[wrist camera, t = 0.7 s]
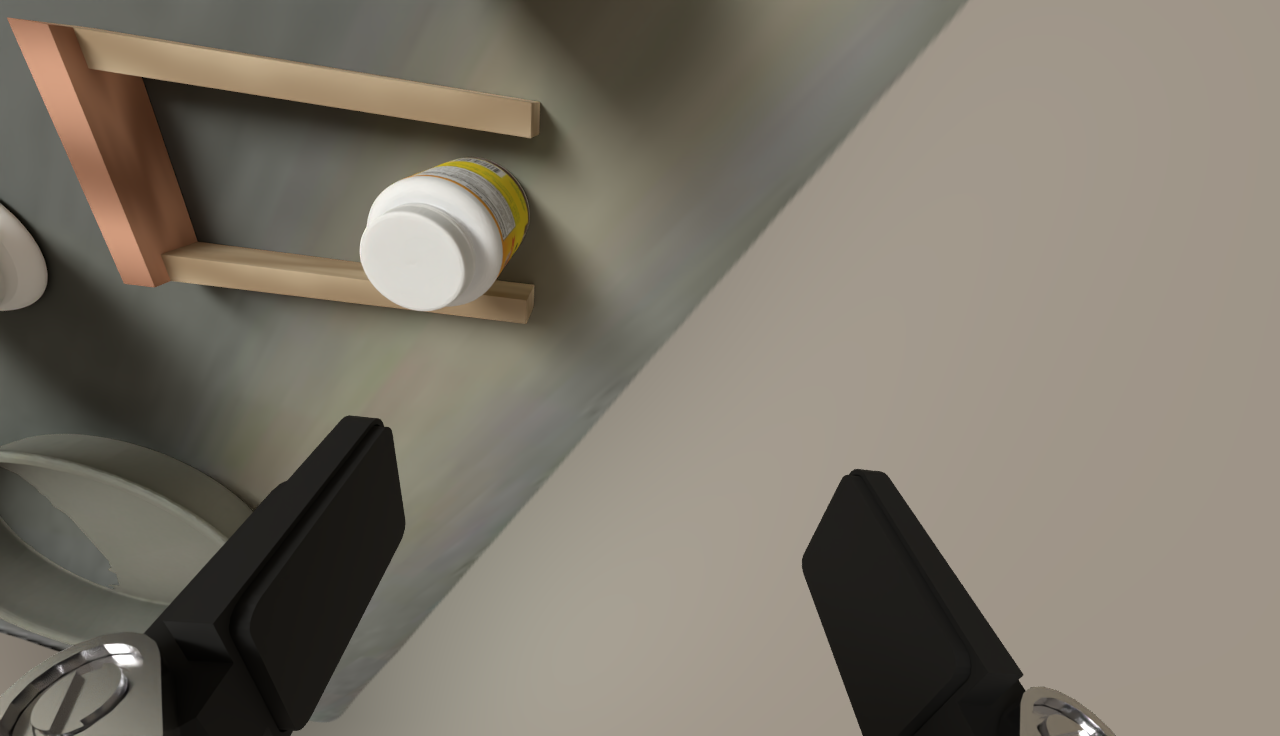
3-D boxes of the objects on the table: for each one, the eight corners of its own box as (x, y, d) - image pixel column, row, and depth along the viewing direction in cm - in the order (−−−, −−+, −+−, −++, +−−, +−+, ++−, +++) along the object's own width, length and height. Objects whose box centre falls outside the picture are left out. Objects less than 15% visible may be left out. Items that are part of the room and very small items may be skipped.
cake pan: (1, 350, 31) (-90, 387, 27) (348, 527, 40) (318, 573, 36) (-69, 530, 39) (-146, 578, 35) (231, 642, 48) (196, 689, 45)
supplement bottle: (469, 269, 28) (397, 349, 19) (413, 180, 26) (300, 226, 17) (550, 233, 27) (513, 300, 18) (500, 137, 25) (429, 161, 16)
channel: (92, 27, 22) (7, 17, 19) (540, 102, 24) (527, 103, 21) (179, 262, 28) (124, 283, 25) (533, 307, 30) (522, 331, 27)
